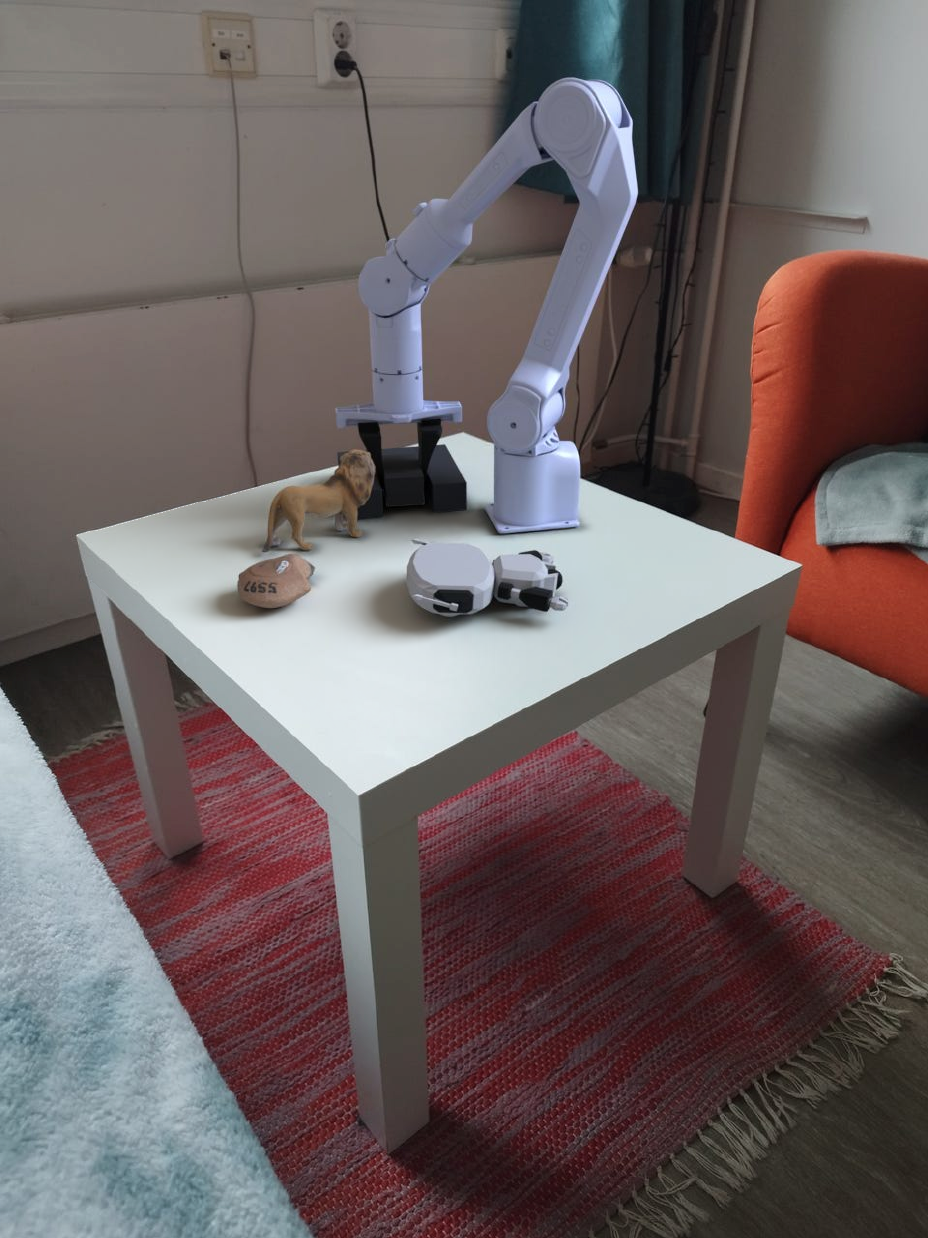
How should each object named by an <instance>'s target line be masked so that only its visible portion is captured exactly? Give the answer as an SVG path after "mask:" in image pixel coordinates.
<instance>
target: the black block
mask: <svg viewBox="0 0 928 1238" xmlns="http://www.w3.org/2000/svg"><path fill="white" fill-rule="evenodd" d="M382 466H383V473H384V486H382V488H383V490H382V493H383V497H384V502H385V506H386V507H401V506H402V507H403V506H417V505H418V506H420V505H425V504H426V503H425V491H424V475H423V472H422V469H421V468H420V465H419V462H418V457H417V454H399V455H382Z"/></svg>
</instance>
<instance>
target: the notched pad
mask: <svg viewBox="0 0 928 1238" xmlns="http://www.w3.org/2000/svg"><path fill="white" fill-rule="evenodd" d="M363 450H364V451H366V452H368V451H367V449H363ZM349 451H350V450H347V451H337V464H338V465H337V466H338V467H339V466H340V464H341V460H340V458H341V456H343V455H344V454H345V453H349ZM418 452H419V449H418V445H417V446H402V447H390V448H389V447H388V448H382V455H399V454H417V457H418ZM467 483H468V482H467V480H466V479H465V477H464V475H463V474H462V471H461V469H460V468H459V466H458V465H457V462H456V461H455V460H454V457H453V456H452V454H451V452H450V450H449V449H448V447H447V445H446V444H444V443H443V444H437V445H436V447H435V449H434V452H433V454H432V457H431V460H430V463H429V467H428V471H427V476H426V483H425V484H424V494H425V495H426V498H427V500H428V502H429V505H430V507H431V509H432V512H433V513H445V512H456V511H466V510H467V509H468V497H467V496H468V492H467V490H468V487H467V485H468V484H467ZM383 508H384V506H383V488H382V486H380V483H379V480H378V478H377V474H376V472H375V475H374V483H373V486H372V490H371V494H370V497H369V499H368V500H367V501H366V503H365V504H364V505H361V506H360V507H359V508H357V520H364V519H374V518H375V519H376V518H384V509H383Z"/></svg>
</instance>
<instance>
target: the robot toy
mask: <svg viewBox="0 0 928 1238" xmlns="http://www.w3.org/2000/svg"><path fill="white" fill-rule="evenodd" d="M411 542H412V543H413V544H416V545H421V546H420V547H418V548H417V549H415V550H414V551H413V552H412V553H411V555H410V557H409V559H408V563H407V565H406V577H405V580H406V581H405V585H406V587H407V591H408V594H409V596H410V597H411V599H412V600H413V601H414V602H415V603H416V604H417V605H418V606H419V607H420V608H422V609H423V610H425V611H428V612H430V613H432V614H437V615H439V616H442V617H445V618H453V617H457V616H459V615H473V614H475V613H477V612H479V611H481V610H483V609H485V608H486V607H487V606H489V604H490V603H491V601H492V599H493V596H494V598H495V599H496V600H497V601H498V602H499V603H505V604H514V605H516V606H518V607H522V608H528V609H532V610H536V611H539V612H540V611H541V612H545V613H548V612H549V610H550V608H551V609H552V610H554V611H555V612H563V611H565V610H566V609H567V608H568V607H569V603H570V601H569V600H568V598H566V597H564V596H561V595H559V596H555V595H556V591H557V590H559V589H560V588H561V586H563V582H564V580H563V576H562V574H561V572H560V571H559V570H558V569H556V567H557V566H556V565H555V564H553V563H554V561H555V557H553V555H551V554H550V553H548V552H544V551H543V552H540V551H538V550H536V549H533V550H527V551H522V552H521V551H520V552H518V553H517V554H501V555H499V556H497V557H496V558H494V559H493V560H491V559H490V558H489V557H488V555H487V554H485V553H484V552H483V550H481V548H478V547H476V546H475V545H472V544H470V543H468V542H467V543H466V542H441V541H440V542H439V541H431V542H426V541H424V540H423V541H422V540H420V539H418V538H411Z"/></svg>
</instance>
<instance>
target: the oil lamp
mask: <svg viewBox="0 0 928 1238" xmlns="http://www.w3.org/2000/svg"><path fill="white" fill-rule="evenodd" d="M315 570H316V566H314V565H313V564H312V563H311V562H310V561H308V560H306V559H305V558H303V557H302V556H300V555H298V554H296V553H288V554H284V555H282V556H279V557H275V558H268V559H264V560H260V561H258V562H256V563H254V564H252V565H250V566H248V567H247V568H245V569H244V570H243V571H241V572H240V573H239V574H238V575H237V577H238V580H237V585H236V588H237V593H238V595H239V598H241V599H242V600H243V601H244V602H246V603H247V604H250V605H253V606H255V607H259V608H262V609H276V608H282V607H285V606H288V605H290V604H291V603H294V602H296V601H297V600H299V599H301V598H302V597H304V596H306V595H307V594H308V593H310V592H311V591H312V586H311V584H310V582H309V578H311V577H312V576H313V575H314V572H315Z"/></svg>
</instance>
